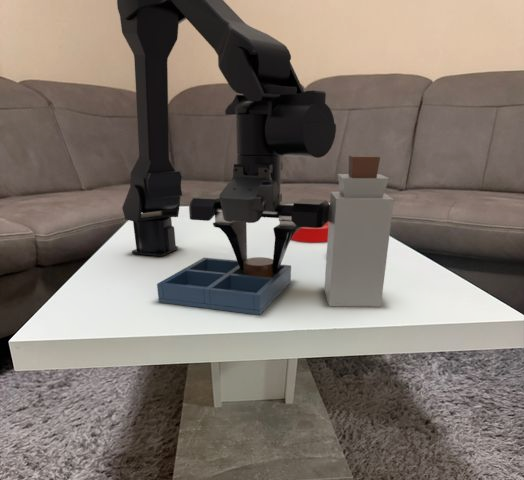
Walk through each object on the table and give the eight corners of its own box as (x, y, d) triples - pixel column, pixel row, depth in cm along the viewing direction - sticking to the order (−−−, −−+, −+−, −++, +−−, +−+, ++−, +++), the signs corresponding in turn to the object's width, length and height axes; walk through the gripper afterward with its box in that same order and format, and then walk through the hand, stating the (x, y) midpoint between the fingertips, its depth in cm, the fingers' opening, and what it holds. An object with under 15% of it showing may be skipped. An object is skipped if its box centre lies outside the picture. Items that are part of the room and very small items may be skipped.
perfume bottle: (324, 289, 66) (333, 154, 58) (371, 290, 66) (386, 154, 58) (329, 306, 60) (339, 157, 52) (380, 306, 60) (398, 158, 52)
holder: (158, 302, 61) (156, 283, 60) (204, 273, 73) (203, 257, 72) (260, 315, 57) (260, 295, 56) (290, 282, 69) (291, 265, 68)
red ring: (284, 233, 101) (284, 219, 100) (326, 232, 103) (327, 217, 101) (295, 243, 92) (296, 227, 91) (340, 241, 94) (341, 225, 93)
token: (239, 281, 65) (238, 263, 64) (250, 272, 69) (249, 256, 68) (269, 284, 64) (269, 266, 63) (279, 275, 68) (279, 258, 67)
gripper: (164, 156, 55) (174, 281, 62) (315, 159, 50) (308, 295, 56) (203, 152, 65) (209, 260, 71) (334, 154, 59) (326, 271, 66)
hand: (259, 271), depth 66 cm, fingers closed on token, 4 cm apart
